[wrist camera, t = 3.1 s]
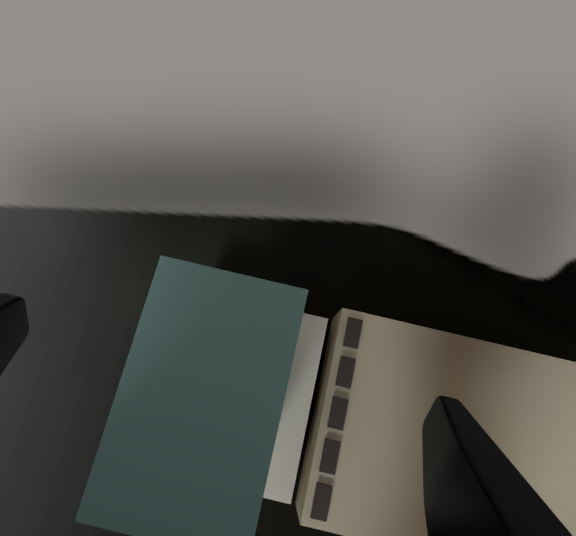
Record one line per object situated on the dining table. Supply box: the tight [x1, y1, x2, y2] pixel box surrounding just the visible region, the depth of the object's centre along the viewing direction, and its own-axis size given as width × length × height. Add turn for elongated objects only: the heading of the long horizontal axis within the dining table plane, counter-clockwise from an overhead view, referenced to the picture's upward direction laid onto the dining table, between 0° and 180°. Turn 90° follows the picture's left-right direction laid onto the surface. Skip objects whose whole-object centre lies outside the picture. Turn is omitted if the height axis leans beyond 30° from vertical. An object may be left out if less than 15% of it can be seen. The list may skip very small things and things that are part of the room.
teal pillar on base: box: [75, 256, 328, 536], centre depth 11 cm, size 5×6×10 cm
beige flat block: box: [295, 308, 576, 536], centre depth 15 cm, size 10×7×3 cm
